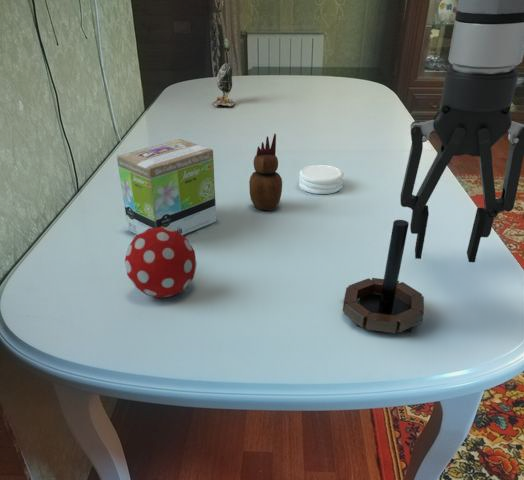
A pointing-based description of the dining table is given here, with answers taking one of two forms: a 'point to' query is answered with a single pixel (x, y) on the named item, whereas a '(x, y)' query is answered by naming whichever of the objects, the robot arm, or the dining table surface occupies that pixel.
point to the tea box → (168, 187)
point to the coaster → (321, 179)
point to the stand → (390, 277)
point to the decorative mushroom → (160, 262)
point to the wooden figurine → (266, 178)
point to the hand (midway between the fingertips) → (443, 255)
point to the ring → (382, 320)
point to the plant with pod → (225, 80)
